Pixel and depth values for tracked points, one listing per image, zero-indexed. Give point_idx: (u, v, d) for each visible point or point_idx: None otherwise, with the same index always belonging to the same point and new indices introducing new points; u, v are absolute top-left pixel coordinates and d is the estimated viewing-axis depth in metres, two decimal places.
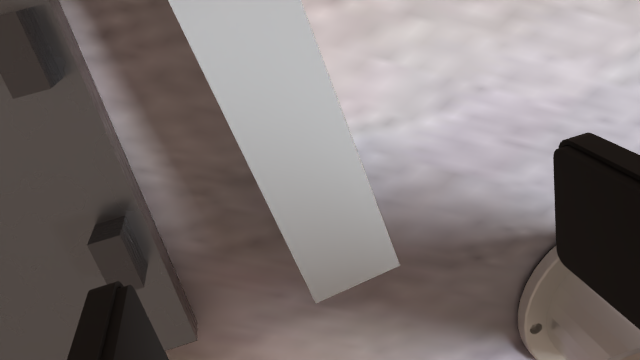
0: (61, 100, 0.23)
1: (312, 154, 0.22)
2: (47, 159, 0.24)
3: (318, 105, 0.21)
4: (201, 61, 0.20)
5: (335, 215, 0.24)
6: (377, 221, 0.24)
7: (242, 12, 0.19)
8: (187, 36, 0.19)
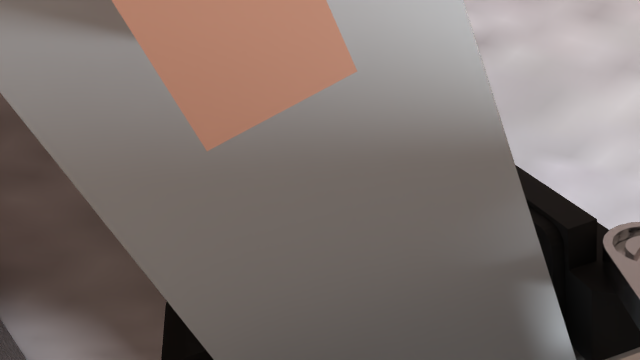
0: None
1: None
2: None
3: (513, 347, 0.08)
4: (178, 298, 0.06)
5: None
6: None
7: (300, 139, 0.06)
8: (123, 235, 0.06)
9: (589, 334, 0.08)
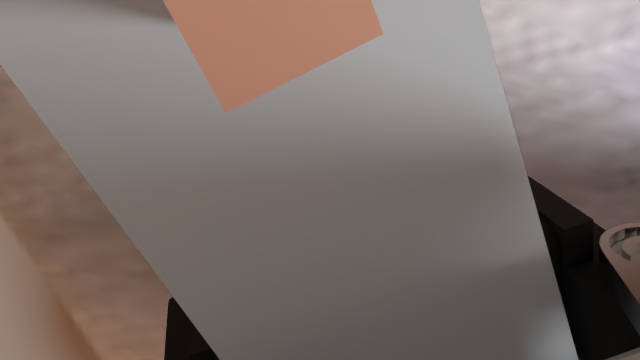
0: None
1: None
2: None
3: (515, 345, 0.08)
4: (179, 287, 0.06)
5: None
6: None
7: (308, 127, 0.06)
8: (124, 221, 0.06)
9: (585, 335, 0.08)
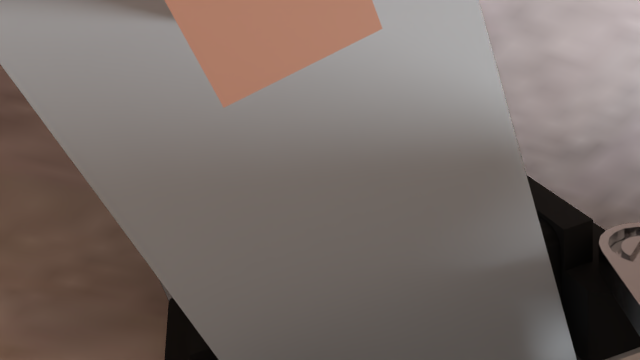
0: None
1: None
2: None
3: (514, 344, 0.08)
4: (177, 285, 0.06)
5: None
6: None
7: (307, 125, 0.06)
8: (122, 218, 0.06)
9: (585, 334, 0.08)
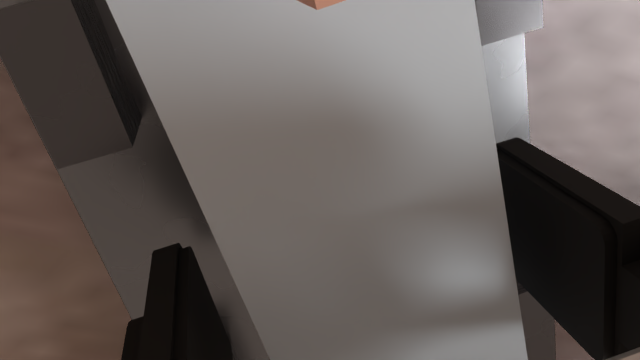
0: None
1: None
2: None
3: (471, 294, 0.09)
4: (206, 198, 0.07)
5: None
6: None
7: (328, 77, 0.07)
8: (172, 134, 0.07)
9: None
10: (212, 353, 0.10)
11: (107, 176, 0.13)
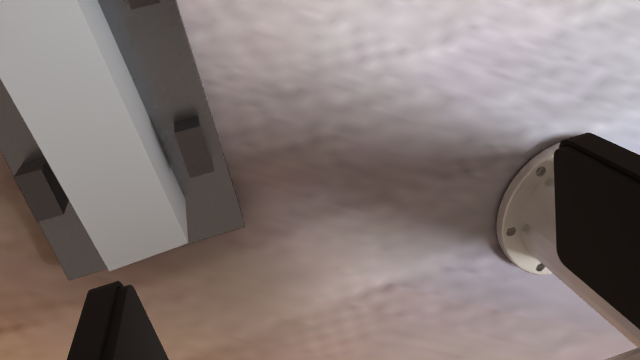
0: (157, 17, 0.29)
1: (98, 139, 0.26)
2: (142, 65, 0.30)
3: (101, 97, 0.25)
4: None
5: (123, 194, 0.27)
6: (164, 202, 0.28)
7: (25, 12, 0.23)
8: None
9: None
10: None
11: None
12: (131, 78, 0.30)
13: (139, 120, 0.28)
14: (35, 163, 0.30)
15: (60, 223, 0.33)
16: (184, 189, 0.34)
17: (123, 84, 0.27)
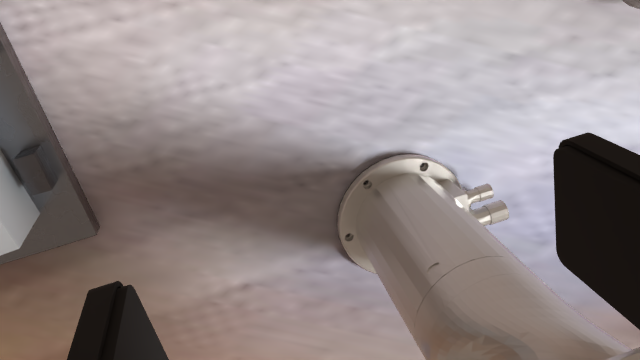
0: None
1: None
2: None
3: None
4: None
5: None
6: None
7: None
8: None
9: None
10: None
11: None
12: None
13: None
14: None
15: None
16: (37, 204, 0.41)
17: None
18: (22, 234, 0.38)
